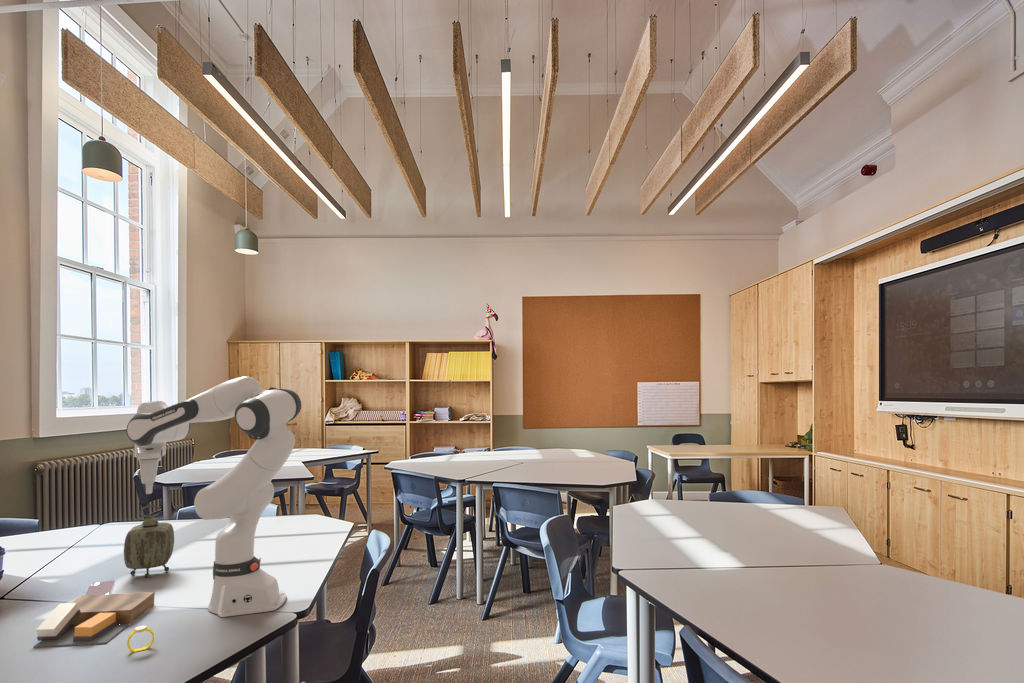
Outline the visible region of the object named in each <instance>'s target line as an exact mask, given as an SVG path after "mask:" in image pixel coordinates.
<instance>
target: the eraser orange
mask: <svg viewBox="0 0 1024 683" xmlns="http://www.w3.org/2000/svg"><path fill="white" fill-rule="evenodd" d="M116 625H117V621H116V613H99V614H97V615H95V616H94V617H92V618H90V619H88V620H87V621H85V622H83V623H81V624H80V625H78V626H76V627H75V636H74V637H73V641H92V640H94V639H96V638H97V637H99V636H100V635H102V634H104V633H105V632H107V631H108V630H110V629H112V628H113V627H115V626H116Z"/></svg>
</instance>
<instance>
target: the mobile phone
mask: <svg viewBox="0 0 1024 683" xmlns="http://www.w3.org/2000/svg"><path fill="white" fill-rule="evenodd" d="M115 585H116V580H106V581H99V582H98V581H97V582H93V583H89V585H88V586H87V589H86V592H85V593H84V595H101V594H113V593H112V592H113V590H114V588H115Z"/></svg>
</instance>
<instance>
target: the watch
mask: <svg viewBox="0 0 1024 683" xmlns="http://www.w3.org/2000/svg"><path fill="white" fill-rule="evenodd" d="M145 631H146V632H149V633H150V634H151V635H152V637H151V638H152V639H151V641H150V643H149V644H148V645H146V646H144V647H140V648H133V647H131V645H130V640H131V638H132V637H133V636H134V635H135V634H137V633H142V632H145ZM154 641H155V633H154V631H153V629H152V628H149V627H148V626H147V625H144V624H143V625H139V626H136V627H134V630H133V631H131V632H130V634H129V636H128V637H127V640H126V646H127V649H128V651H131V652H132V653H134V654H135V653H138V652H143V651H146V650H149V649H150V648H151V647H152V645H153V644H154Z"/></svg>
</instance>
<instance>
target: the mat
mask: <svg viewBox="0 0 1024 683" xmlns="http://www.w3.org/2000/svg"><path fill="white" fill-rule="evenodd" d="M129 626H130V624H120V625H116V626H115V627H113V628H112V629H110V630H108V631H107V632H105V633H104V634H102V635H100V636H99V637H97V638H96V639H94V640H92V641H73V637H74V636H75V627H68V628H67V629H66V630H65V632H64V633H63V634H62V635H61V636H60V637H59V639H58V640H46V641H38V643H36V644H35V645H33V649H36V648H37V649H38V648H41V649H42V648H56V647H73V646H91V645H106V644H108V643H110V642H111V641H112V640H113V639H114V638H115V637H116V636H117V637H118V635H119V634H121V633H122V632H123V631H124V630H126V629H127V628H128V627H129Z"/></svg>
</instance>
